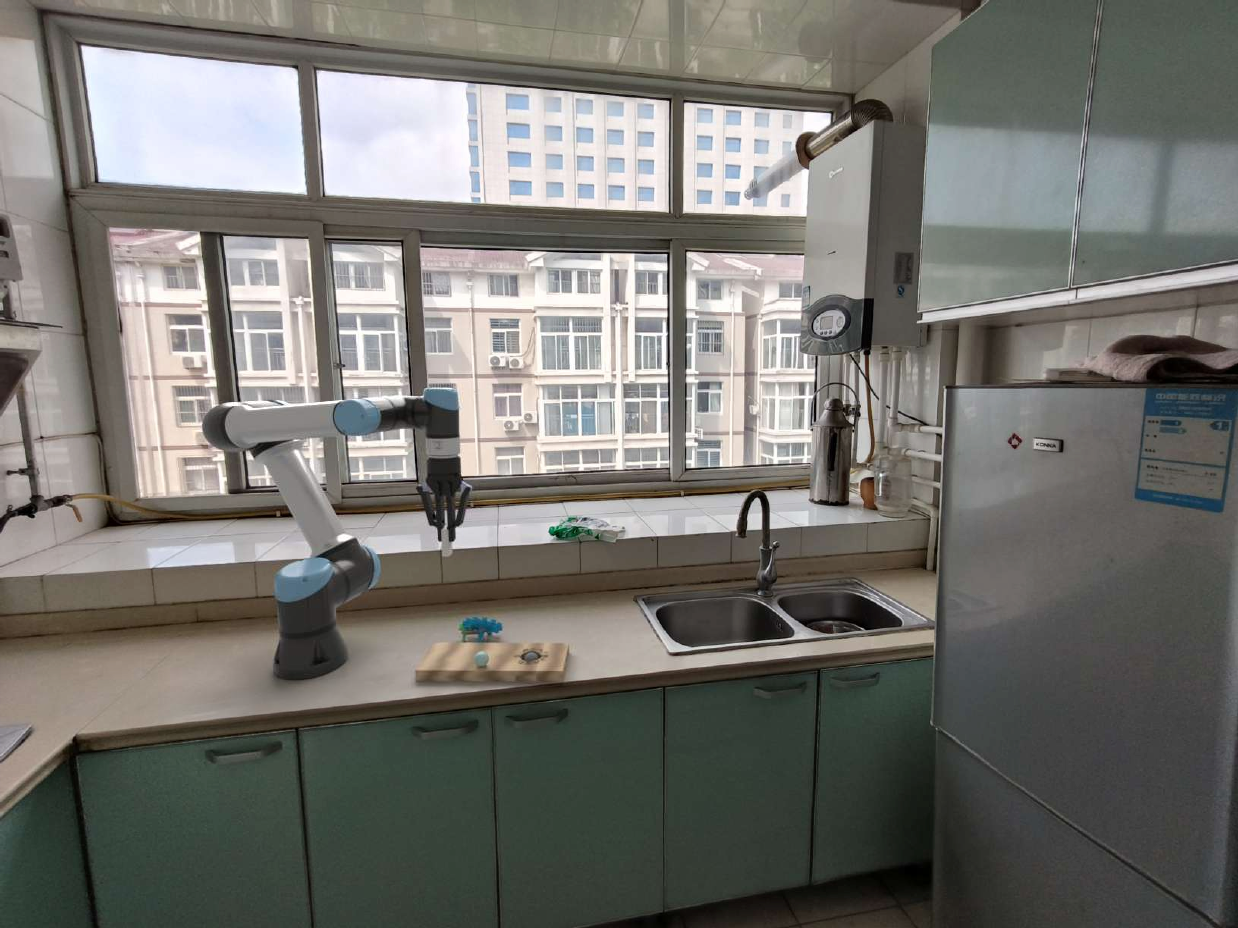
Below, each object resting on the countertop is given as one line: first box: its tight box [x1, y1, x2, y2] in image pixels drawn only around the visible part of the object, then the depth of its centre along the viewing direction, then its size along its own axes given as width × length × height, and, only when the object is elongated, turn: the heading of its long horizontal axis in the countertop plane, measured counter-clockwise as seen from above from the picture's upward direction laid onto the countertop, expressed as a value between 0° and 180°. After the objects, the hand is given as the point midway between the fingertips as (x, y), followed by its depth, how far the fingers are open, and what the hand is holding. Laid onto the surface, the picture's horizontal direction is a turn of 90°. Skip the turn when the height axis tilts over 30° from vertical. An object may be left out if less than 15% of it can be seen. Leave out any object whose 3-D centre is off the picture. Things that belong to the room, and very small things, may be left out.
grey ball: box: [524, 652, 538, 661], centre depth 131 cm, size 3×3×3 cm
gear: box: [458, 616, 504, 643], centre depth 142 cm, size 11×6×10 cm
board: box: [414, 642, 570, 683], centre depth 131 cm, size 32×13×2 cm, turn 89°
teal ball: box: [474, 651, 489, 667], centre depth 126 cm, size 3×3×3 cm
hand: (447, 554), depth 135 cm, fingers closed
